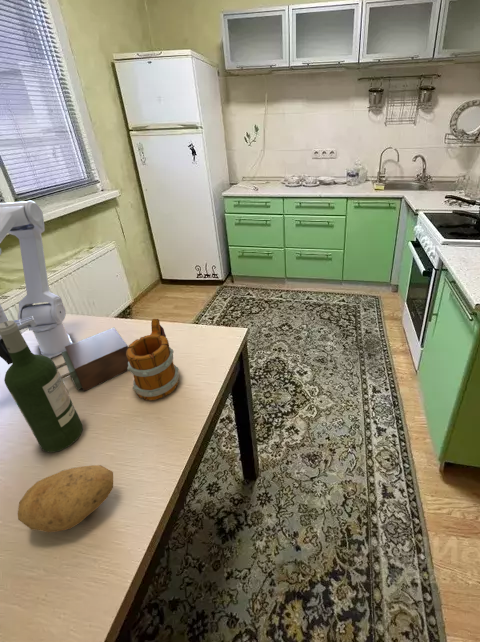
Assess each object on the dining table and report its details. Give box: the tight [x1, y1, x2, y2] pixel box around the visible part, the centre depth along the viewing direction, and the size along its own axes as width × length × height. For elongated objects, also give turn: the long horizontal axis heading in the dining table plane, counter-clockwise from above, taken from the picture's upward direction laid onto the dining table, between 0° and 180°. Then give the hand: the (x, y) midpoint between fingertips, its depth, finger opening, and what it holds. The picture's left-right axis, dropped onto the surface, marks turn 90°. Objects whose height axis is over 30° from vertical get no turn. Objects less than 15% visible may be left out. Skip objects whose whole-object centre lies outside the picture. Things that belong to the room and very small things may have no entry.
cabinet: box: [65, 327, 129, 392], centre depth 88 cm, size 13×12×8 cm
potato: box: [17, 464, 114, 533], centre depth 56 cm, size 10×14×8 cm
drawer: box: [55, 351, 83, 390], centre depth 86 cm, size 16×10×6 cm, turn 132°
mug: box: [126, 318, 180, 401], centre depth 83 cm, size 11×16×15 cm, turn 5°
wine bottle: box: [0, 320, 84, 453], centre depth 64 cm, size 8×8×30 cm
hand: (11, 361), depth 78 cm, fingers closed
